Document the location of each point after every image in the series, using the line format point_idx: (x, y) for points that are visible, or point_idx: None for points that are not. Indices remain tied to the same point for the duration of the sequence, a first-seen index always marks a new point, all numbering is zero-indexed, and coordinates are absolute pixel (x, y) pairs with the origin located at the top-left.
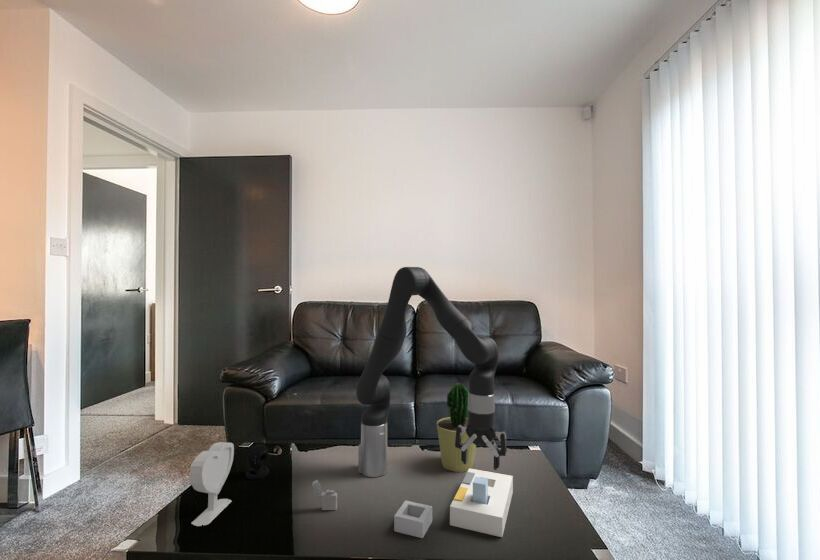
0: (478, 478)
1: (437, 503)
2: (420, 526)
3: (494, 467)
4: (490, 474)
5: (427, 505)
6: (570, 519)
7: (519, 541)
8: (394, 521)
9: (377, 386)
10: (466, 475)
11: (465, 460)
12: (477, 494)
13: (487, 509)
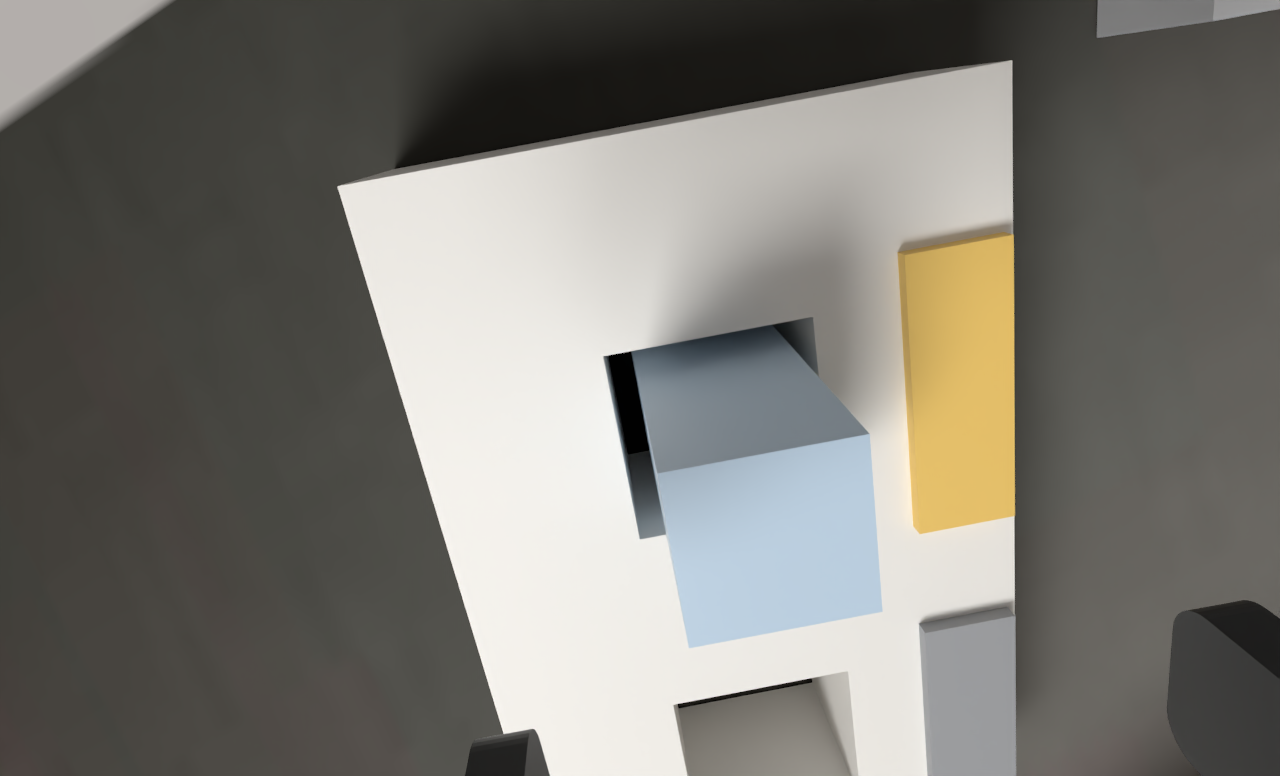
0: (822, 587)
1: (1126, 344)
2: None
3: (506, 770)
4: None
5: (1275, 3)
6: (26, 726)
7: (235, 199)
8: None
9: None
10: (1006, 748)
11: (1269, 663)
12: (751, 387)
13: (565, 258)
